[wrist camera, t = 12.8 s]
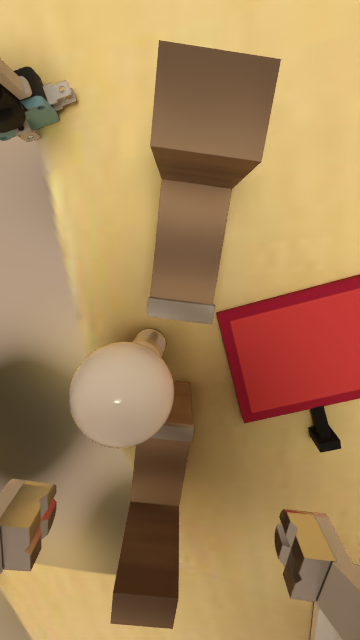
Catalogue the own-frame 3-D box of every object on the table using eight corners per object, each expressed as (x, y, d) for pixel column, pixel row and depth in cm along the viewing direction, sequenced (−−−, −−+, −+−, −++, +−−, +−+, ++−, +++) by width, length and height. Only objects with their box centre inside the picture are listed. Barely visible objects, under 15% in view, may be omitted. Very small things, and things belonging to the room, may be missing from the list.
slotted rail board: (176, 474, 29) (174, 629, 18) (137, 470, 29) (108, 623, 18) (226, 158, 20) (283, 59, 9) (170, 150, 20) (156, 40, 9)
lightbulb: (138, 379, 26) (86, 483, 16) (105, 321, 25) (23, 397, 14) (199, 358, 25) (184, 459, 14) (168, 294, 23) (126, 359, 13)
